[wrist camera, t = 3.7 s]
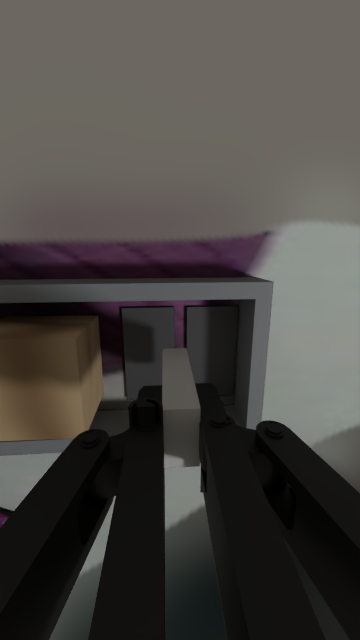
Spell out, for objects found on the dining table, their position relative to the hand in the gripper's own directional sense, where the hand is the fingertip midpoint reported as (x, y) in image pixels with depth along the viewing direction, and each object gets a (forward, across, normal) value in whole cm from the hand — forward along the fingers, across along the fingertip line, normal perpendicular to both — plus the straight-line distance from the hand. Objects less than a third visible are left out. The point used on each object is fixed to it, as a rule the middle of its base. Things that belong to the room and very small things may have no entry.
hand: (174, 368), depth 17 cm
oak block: (+3, +8, 0) cm, 9 cm away
